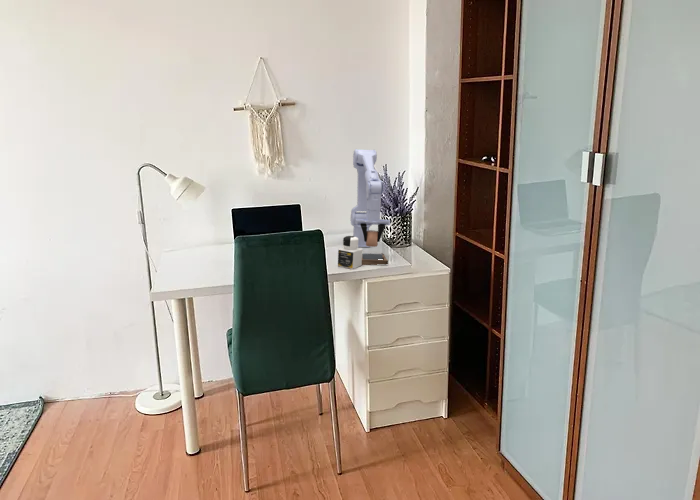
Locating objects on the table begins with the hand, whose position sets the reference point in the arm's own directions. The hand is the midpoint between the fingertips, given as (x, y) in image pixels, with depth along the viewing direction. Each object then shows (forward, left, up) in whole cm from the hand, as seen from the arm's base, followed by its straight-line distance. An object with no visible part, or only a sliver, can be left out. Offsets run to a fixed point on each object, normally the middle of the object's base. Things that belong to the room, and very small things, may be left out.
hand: (371, 241), depth 249 cm
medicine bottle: (+14, -10, -7) cm, 19 cm away
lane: (+5, 0, -7) cm, 9 cm away
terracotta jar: (0, 0, -2) cm, 2 cm away
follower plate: (+4, 0, -7) cm, 8 cm away
